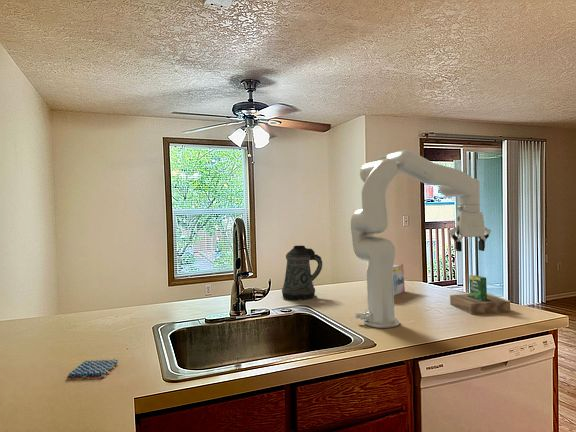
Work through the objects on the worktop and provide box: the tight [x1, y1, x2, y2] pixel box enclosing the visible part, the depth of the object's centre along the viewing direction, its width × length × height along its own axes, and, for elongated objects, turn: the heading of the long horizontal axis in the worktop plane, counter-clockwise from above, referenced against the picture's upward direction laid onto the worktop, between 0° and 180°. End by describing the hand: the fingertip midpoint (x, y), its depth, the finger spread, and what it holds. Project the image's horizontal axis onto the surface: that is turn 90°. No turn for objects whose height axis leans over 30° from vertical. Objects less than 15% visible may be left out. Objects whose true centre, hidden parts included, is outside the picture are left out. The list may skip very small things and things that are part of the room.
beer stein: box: [281, 245, 323, 301], centre depth 193 cm, size 16×19×25 cm
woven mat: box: [66, 358, 119, 381], centre depth 109 cm, size 10×11×2 cm
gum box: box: [393, 263, 406, 296], centre depth 191 cm, size 24×8×14 cm, turn 139°
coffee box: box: [468, 274, 488, 302], centre depth 160 cm, size 8×3×13 cm, turn 6°
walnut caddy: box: [449, 292, 511, 315], centre depth 160 cm, size 16×16×4 cm
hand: (470, 250), depth 160 cm, fingers open, 9 cm apart
